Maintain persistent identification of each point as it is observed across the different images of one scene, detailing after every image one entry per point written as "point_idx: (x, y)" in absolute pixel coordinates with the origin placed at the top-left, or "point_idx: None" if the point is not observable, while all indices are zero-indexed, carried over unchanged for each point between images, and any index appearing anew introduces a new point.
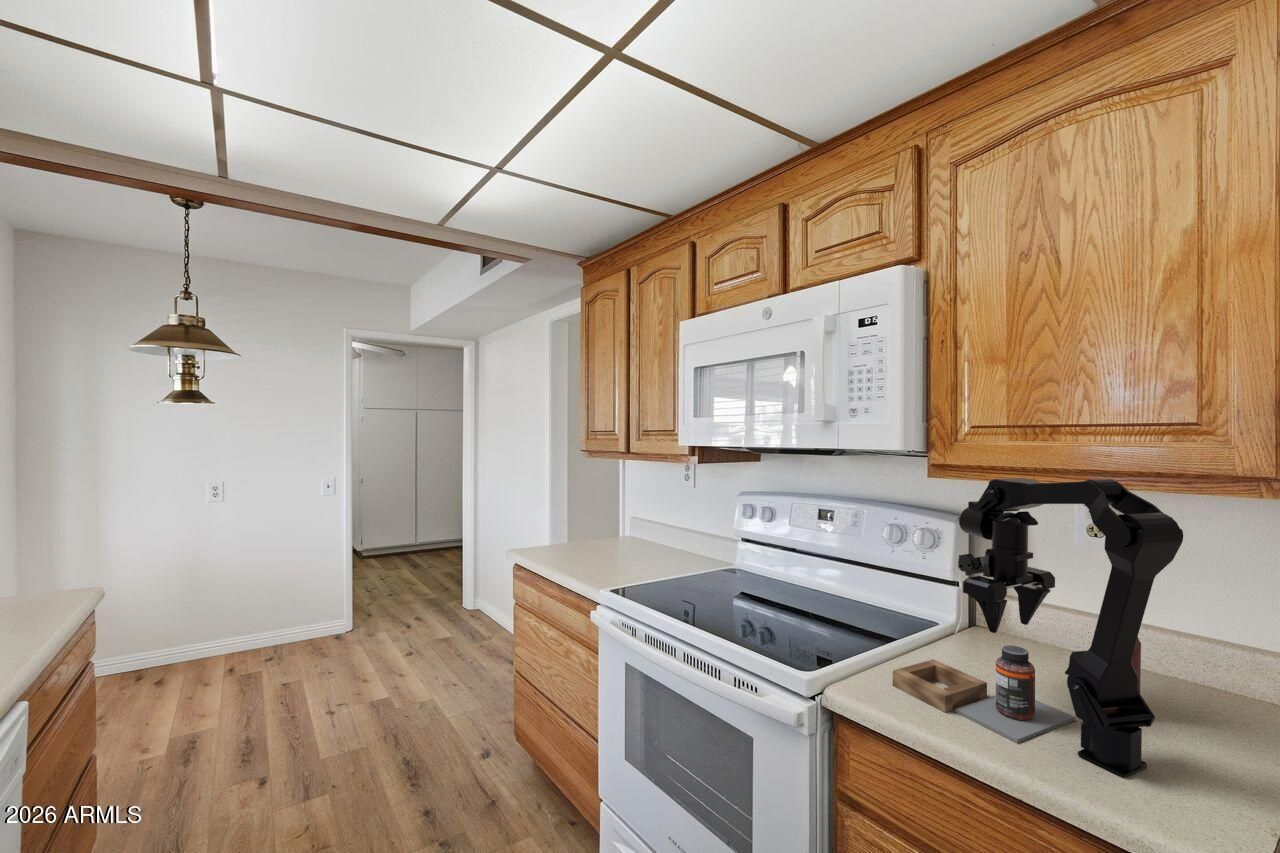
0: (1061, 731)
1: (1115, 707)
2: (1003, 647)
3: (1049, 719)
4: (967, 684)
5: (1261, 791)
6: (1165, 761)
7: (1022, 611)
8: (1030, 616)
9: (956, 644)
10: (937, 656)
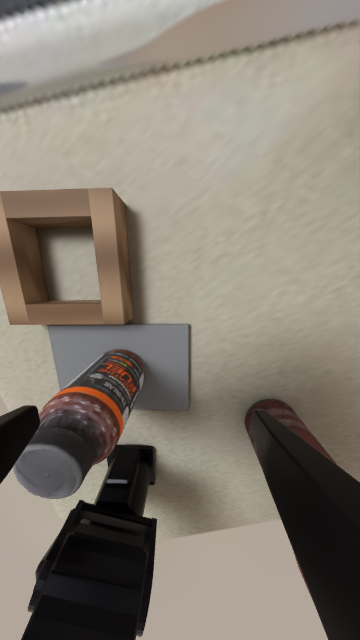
0: (144, 412)
1: (249, 436)
2: (26, 451)
3: (149, 399)
4: (83, 313)
5: (206, 529)
6: (184, 482)
7: (289, 479)
8: (274, 497)
9: (325, 90)
10: (210, 132)
